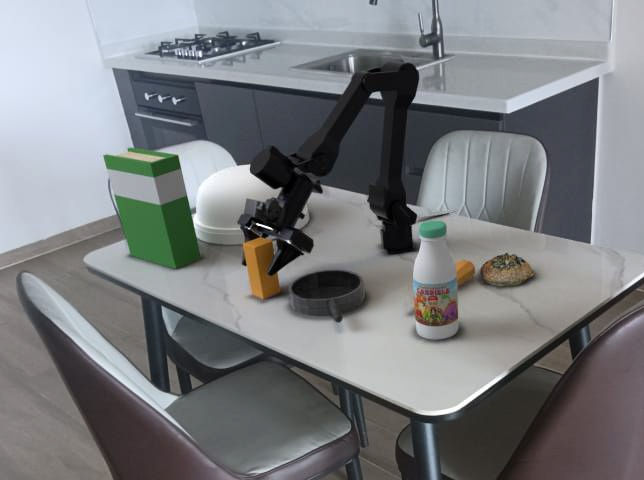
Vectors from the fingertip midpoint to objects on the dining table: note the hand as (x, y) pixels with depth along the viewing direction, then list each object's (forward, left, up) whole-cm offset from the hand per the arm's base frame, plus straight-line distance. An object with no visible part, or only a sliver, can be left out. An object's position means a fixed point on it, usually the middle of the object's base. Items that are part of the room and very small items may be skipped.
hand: (256, 270), depth 148 cm
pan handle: (-13, +18, -4) cm, 23 cm away
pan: (-13, +7, -6) cm, 16 cm away
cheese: (-1, -1, -6) cm, 6 cm away
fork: (-42, -32, -6) cm, 53 cm away
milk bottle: (-30, +27, -6) cm, 41 cm away
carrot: (-35, +12, -6) cm, 38 cm away
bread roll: (-50, +9, -6) cm, 51 cm away
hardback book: (+21, -33, -6) cm, 39 cm away
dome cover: (-1, -48, -6) cm, 49 cm away
